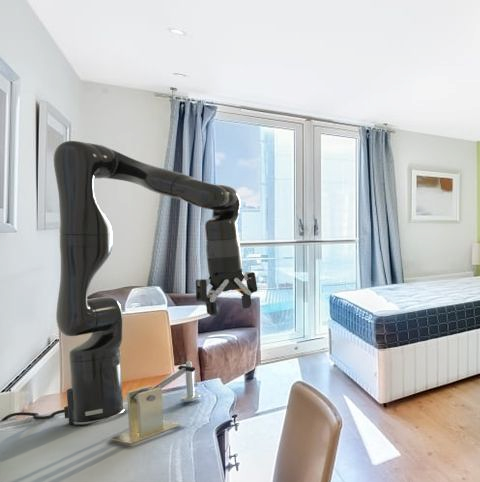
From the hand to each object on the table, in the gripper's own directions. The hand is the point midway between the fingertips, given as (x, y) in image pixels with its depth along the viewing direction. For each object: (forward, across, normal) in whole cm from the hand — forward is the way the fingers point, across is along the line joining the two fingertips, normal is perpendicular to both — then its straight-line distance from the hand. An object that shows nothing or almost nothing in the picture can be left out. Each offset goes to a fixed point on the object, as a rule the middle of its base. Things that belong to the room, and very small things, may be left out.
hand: (230, 311), depth 122 cm
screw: (+28, +3, -17) cm, 33 cm away
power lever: (+17, +14, -4) cm, 22 cm away
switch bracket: (+28, +19, -4) cm, 34 cm away
